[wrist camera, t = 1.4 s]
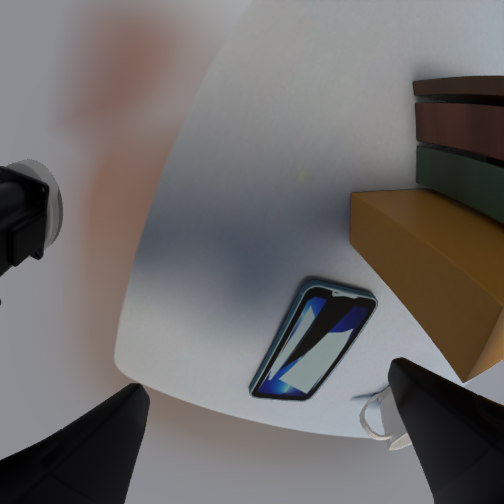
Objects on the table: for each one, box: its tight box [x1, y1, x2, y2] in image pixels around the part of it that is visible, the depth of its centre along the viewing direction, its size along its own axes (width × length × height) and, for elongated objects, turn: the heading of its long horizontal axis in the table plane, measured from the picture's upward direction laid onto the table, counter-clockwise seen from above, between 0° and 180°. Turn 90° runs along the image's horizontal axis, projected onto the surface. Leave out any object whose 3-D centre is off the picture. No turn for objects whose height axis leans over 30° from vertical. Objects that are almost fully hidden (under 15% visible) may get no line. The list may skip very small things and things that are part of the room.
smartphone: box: [249, 280, 378, 402], centre depth 24 cm, size 7×1×15 cm
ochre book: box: [350, 189, 504, 383], centre depth 13 cm, size 10×4×14 cm, turn 96°
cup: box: [360, 386, 412, 450], centre depth 26 cm, size 7×10×8 cm
